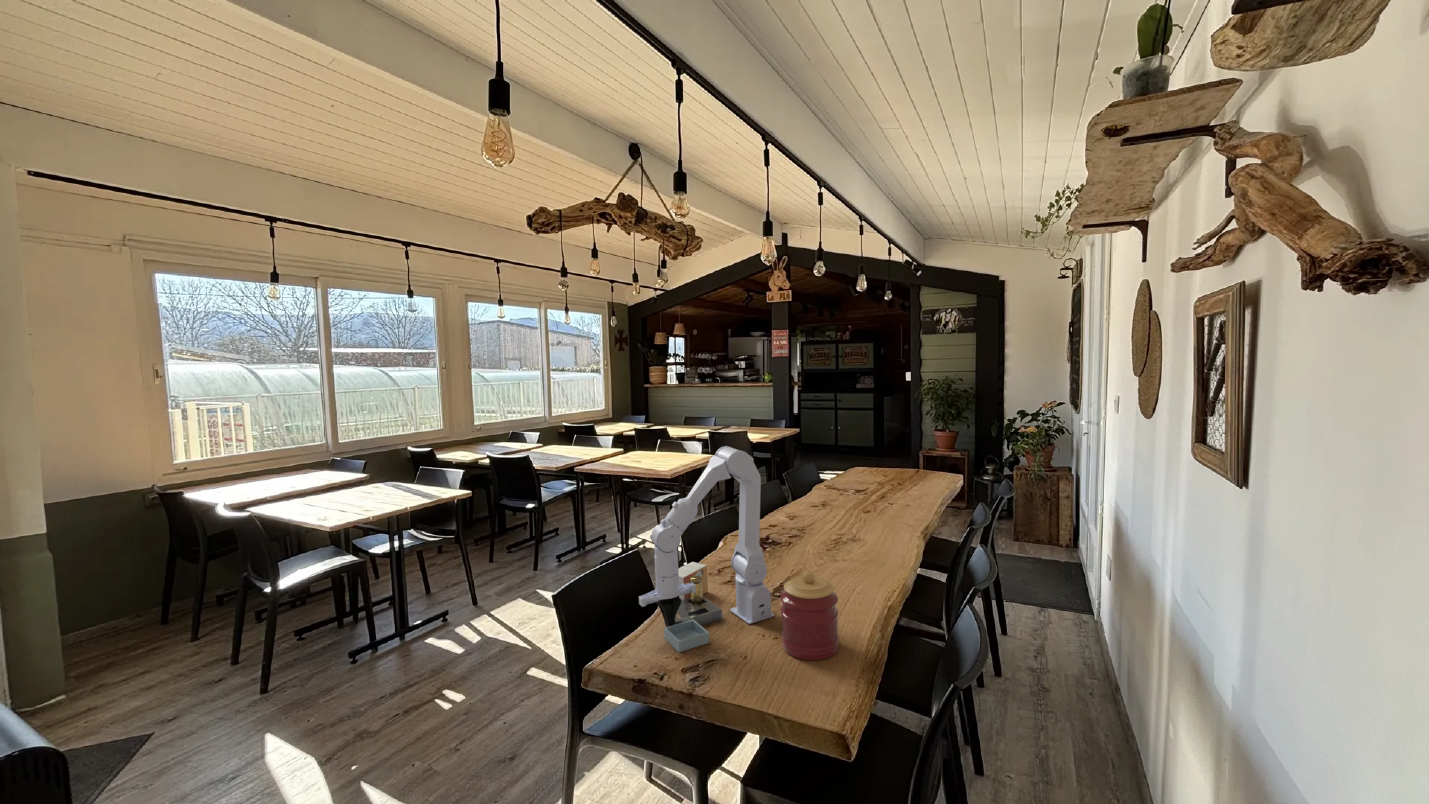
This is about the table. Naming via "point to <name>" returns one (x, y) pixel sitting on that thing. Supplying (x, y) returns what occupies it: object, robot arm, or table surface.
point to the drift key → (683, 619)
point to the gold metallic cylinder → (696, 597)
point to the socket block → (700, 611)
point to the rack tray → (686, 635)
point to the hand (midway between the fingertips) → (669, 626)
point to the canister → (809, 617)
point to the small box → (693, 570)
